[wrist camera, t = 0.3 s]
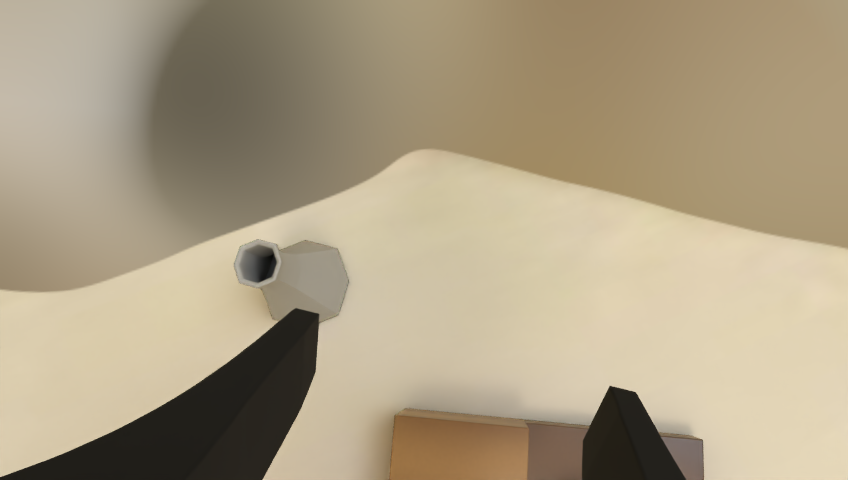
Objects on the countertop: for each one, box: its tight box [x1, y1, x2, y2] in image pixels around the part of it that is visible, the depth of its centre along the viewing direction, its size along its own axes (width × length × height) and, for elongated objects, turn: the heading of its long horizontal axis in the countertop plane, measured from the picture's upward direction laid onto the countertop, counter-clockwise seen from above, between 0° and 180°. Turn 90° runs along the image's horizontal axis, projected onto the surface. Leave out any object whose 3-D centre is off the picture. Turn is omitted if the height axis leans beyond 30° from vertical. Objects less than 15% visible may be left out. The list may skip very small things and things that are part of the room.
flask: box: [234, 239, 349, 323], centre depth 39 cm, size 7×7×10 cm
